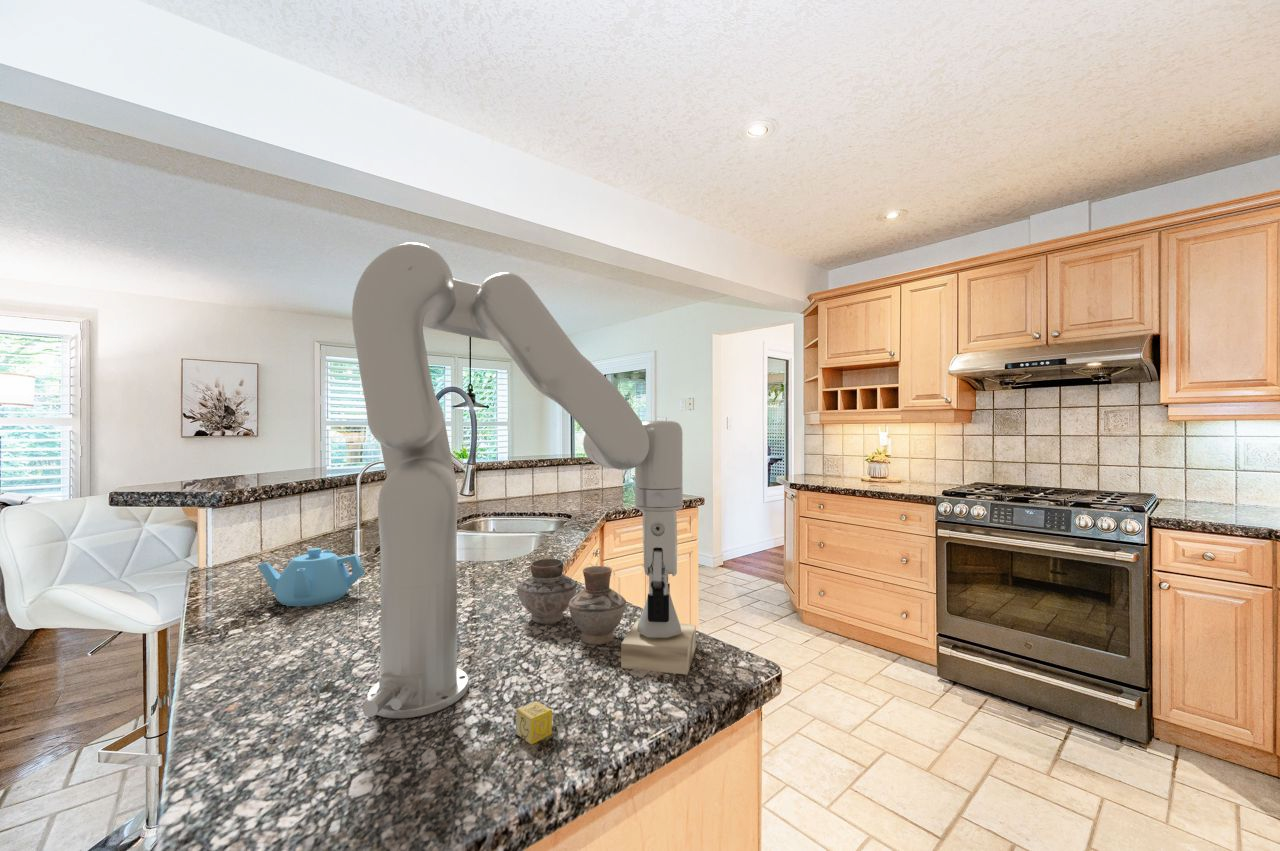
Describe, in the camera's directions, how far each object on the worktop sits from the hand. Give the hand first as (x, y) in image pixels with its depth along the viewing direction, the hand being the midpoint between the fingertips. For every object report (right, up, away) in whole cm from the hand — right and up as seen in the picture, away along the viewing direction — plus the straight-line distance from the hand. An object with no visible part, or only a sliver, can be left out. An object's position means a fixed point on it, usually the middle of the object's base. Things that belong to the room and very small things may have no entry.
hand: (659, 613), depth 82 cm
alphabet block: (-15, -7, -21) cm, 27 cm away
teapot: (-74, -8, +30) cm, 80 cm away
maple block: (0, -7, 0) cm, 7 cm away
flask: (0, -3, 0) cm, 3 cm away
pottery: (-16, -8, +13) cm, 22 cm away
